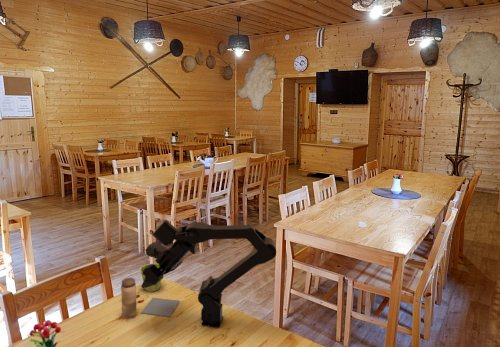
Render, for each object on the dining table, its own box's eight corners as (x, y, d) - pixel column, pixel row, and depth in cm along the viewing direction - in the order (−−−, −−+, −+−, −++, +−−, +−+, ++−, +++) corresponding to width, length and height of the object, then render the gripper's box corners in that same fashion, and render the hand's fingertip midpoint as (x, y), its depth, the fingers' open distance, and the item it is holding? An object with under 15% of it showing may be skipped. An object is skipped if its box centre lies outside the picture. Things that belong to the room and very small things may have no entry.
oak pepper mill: (139, 311, 139) (138, 278, 136) (132, 319, 134) (131, 284, 131) (126, 310, 139) (125, 276, 137) (119, 317, 135) (118, 283, 132)
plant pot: (158, 295, 151) (157, 274, 149) (135, 292, 152) (135, 271, 151) (167, 284, 160) (167, 264, 158) (146, 281, 162) (146, 262, 160)
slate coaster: (180, 301, 147) (180, 300, 147) (169, 317, 136) (169, 316, 136) (152, 298, 148) (152, 297, 148) (140, 313, 138) (140, 312, 138)
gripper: (172, 228, 139) (147, 256, 144) (145, 244, 122) (118, 275, 126) (193, 250, 138) (168, 278, 142) (169, 269, 120) (141, 300, 125)
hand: (149, 282), depth 134 cm, fingers open, 9 cm apart
